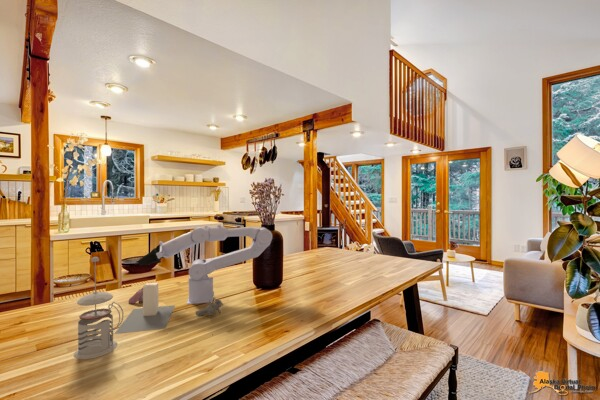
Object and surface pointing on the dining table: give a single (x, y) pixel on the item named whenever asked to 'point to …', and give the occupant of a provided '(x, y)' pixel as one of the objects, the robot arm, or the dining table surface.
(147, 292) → the cream block
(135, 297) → the video game controller
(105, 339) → the french press
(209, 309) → the grey toy figure
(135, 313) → the slate mat
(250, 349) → the dining table surface
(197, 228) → the robot arm
